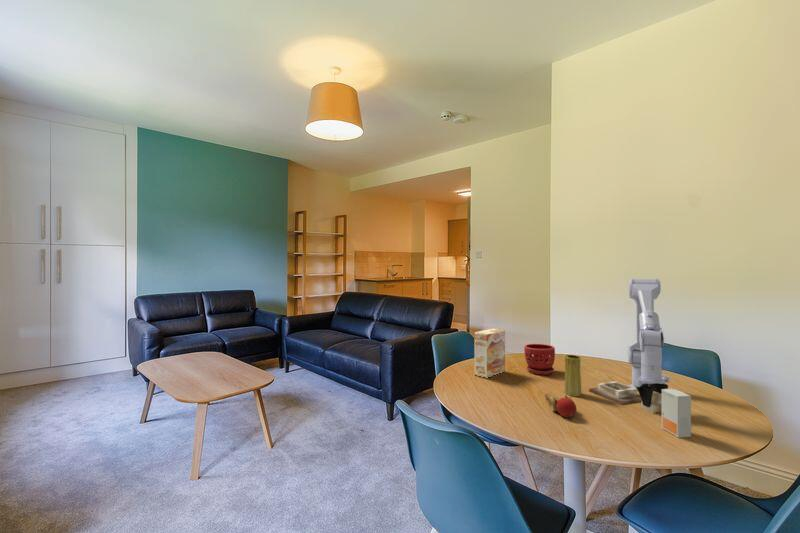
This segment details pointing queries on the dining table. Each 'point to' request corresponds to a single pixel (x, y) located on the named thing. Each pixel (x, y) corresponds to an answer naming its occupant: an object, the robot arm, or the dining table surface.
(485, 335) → the coffeecake box
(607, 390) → the socket board
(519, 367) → the dining table surface
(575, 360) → the vase
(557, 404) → the kendama
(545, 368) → the plant pot
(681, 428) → the skincare box
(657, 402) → the birch peg
